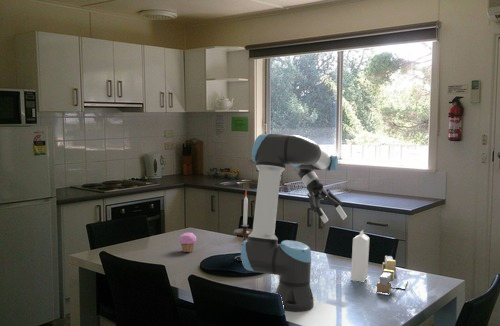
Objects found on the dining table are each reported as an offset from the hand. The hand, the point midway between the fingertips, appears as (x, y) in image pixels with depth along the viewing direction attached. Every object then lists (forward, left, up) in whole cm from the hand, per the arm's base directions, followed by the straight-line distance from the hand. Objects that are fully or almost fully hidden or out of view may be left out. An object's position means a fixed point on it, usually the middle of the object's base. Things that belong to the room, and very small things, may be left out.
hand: (335, 219), depth 226 cm
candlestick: (-29, +34, -25) cm, 51 cm away
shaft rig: (+11, -22, -24) cm, 35 cm away
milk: (+2, -14, -25) cm, 29 cm away
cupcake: (-48, +58, -25) cm, 79 cm away
